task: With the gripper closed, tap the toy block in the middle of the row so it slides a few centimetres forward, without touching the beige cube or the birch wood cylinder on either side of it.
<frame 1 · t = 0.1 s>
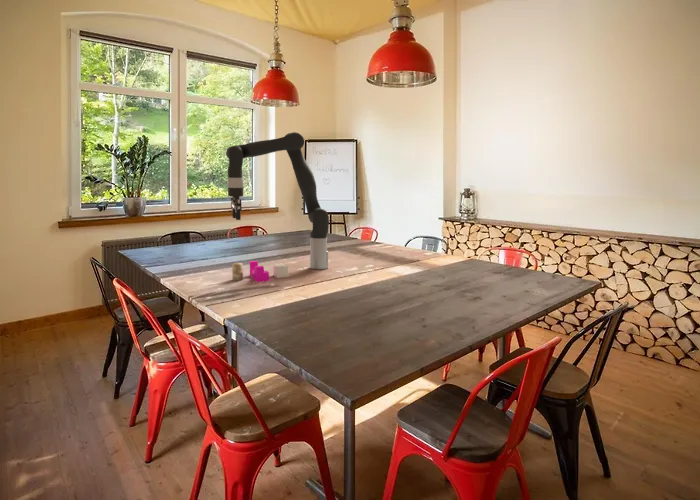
hand: (236, 219, 232), 29 cm above the table, tool pointing down, fingers open, 8 cm apart
beige cube: (280, 276, 236), on the table
birch cylinder: (237, 279, 226), on the table
toy block: (259, 278, 231), on the table
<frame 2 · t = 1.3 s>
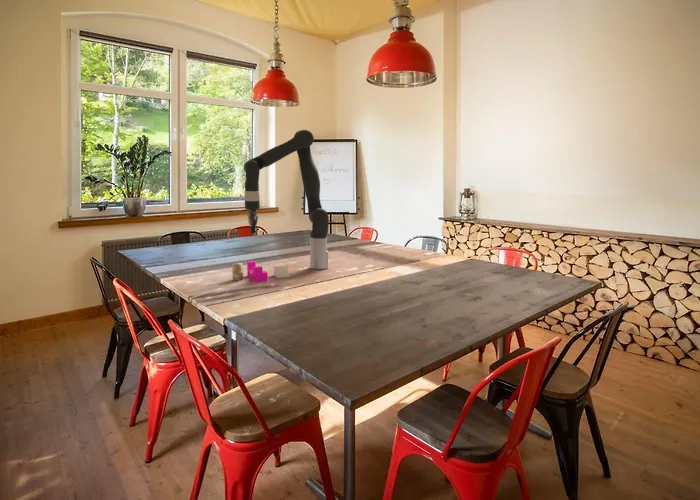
hand: (252, 233, 239), 21 cm above the table, tool pointing down, fingers closed
toy block: (257, 279, 230), on the table
everything else where it was.
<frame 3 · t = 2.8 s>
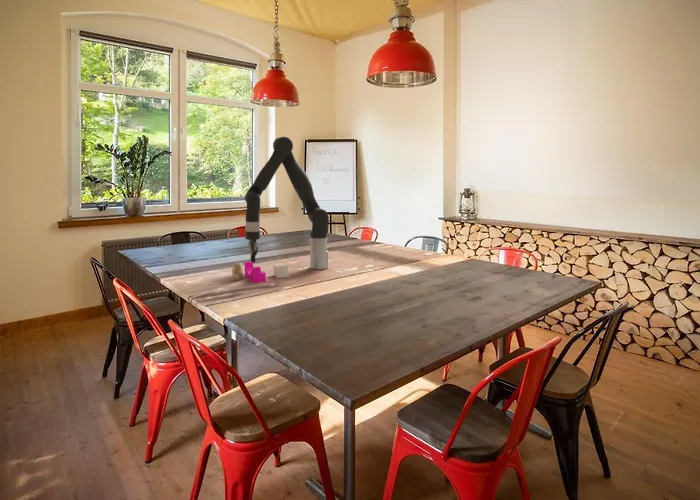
hand: (253, 262, 242), 5 cm above the table, tool pointing down, fingers closed
toy block: (255, 279, 229), on the table
everything else where it was.
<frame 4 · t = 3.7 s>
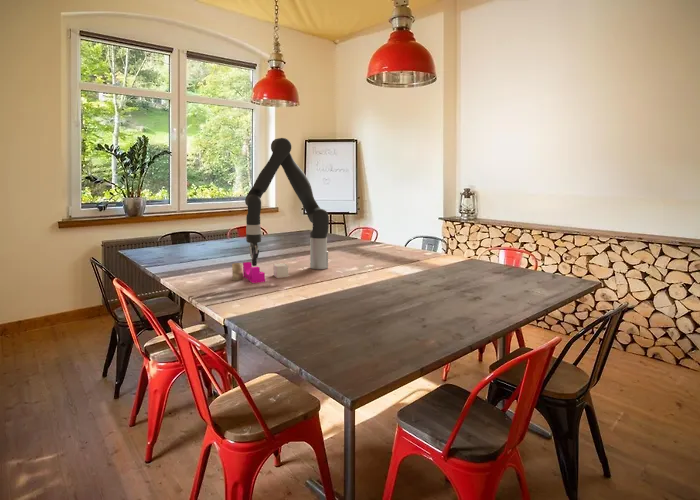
hand: (254, 265, 240), 4 cm above the table, tool pointing down, fingers closed
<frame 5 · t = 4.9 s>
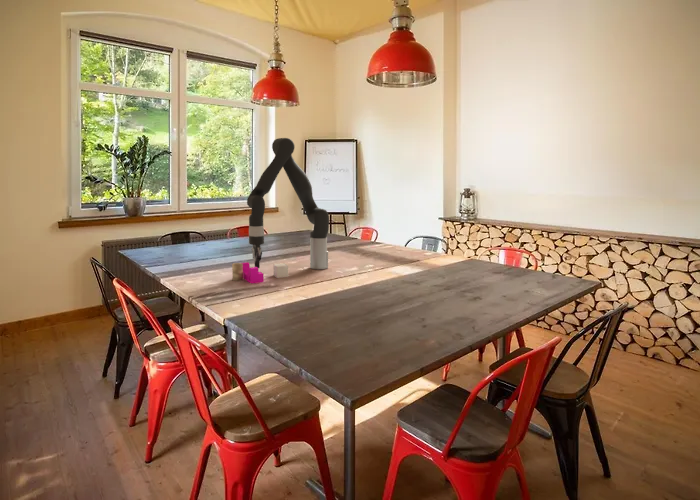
hand: (257, 268, 235), 4 cm above the table, tool pointing down, fingers closed
toy block: (252, 280, 228), on the table
everything else where it was.
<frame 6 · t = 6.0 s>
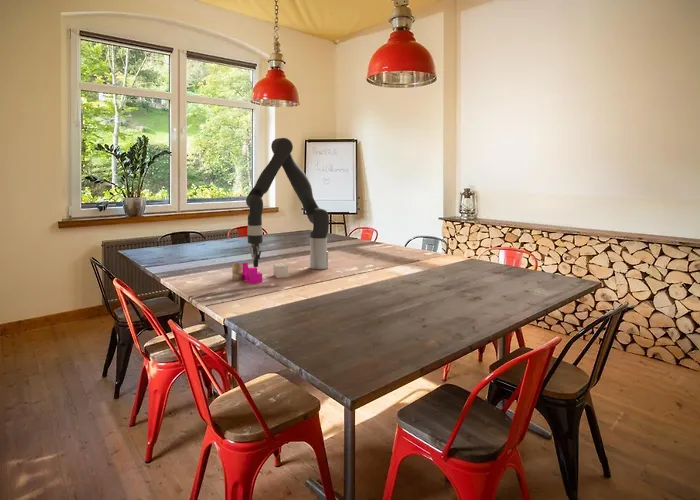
hand: (255, 266, 238), 4 cm above the table, tool pointing down, fingers closed
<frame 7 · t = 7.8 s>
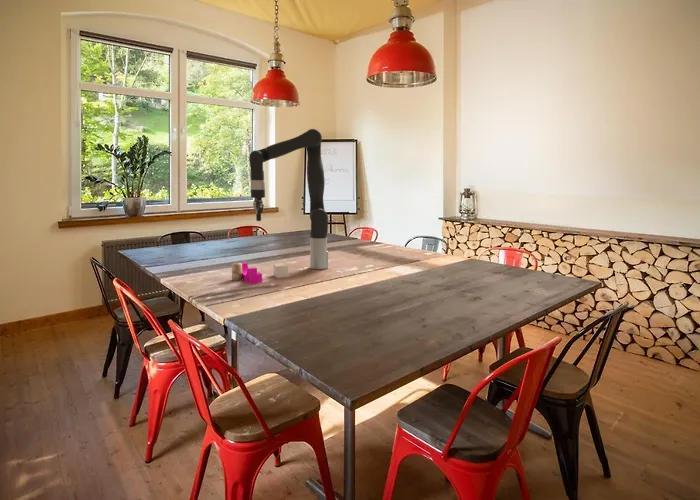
hand: (258, 220, 248), 26 cm above the table, tool pointing down, fingers closed
birch cylinder: (237, 279, 226), on the table, touching toy block
toy block: (250, 280, 227), on the table, touching birch cylinder
everything else where it was.
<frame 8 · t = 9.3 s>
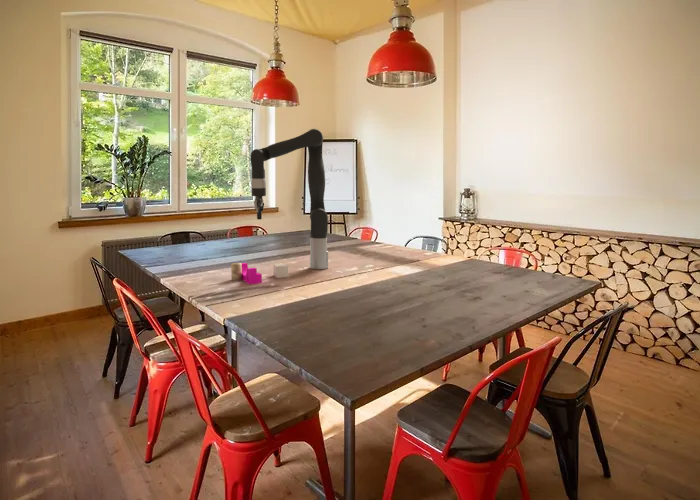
hand: (259, 219, 249), 27 cm above the table, tool pointing down, fingers closed
birch cylinder: (236, 279, 226), on the table
toy block: (250, 281, 226), on the table
everything else where it was.
at the end: toy block moved 6.2 cm from its start; beige cube moved 0.1 cm from its start; birch cylinder moved 0.5 cm from its start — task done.
